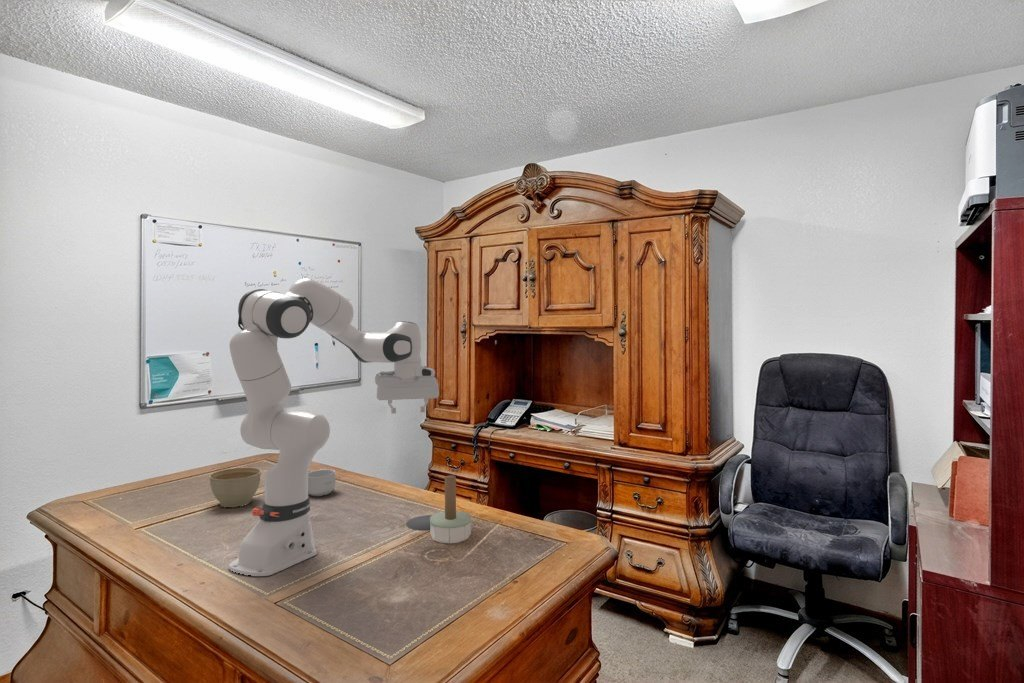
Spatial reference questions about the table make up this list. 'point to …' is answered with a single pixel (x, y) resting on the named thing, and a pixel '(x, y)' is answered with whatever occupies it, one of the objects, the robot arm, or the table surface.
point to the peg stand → (450, 509)
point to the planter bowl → (235, 485)
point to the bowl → (450, 534)
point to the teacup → (321, 482)
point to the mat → (419, 523)
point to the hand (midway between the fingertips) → (408, 412)
